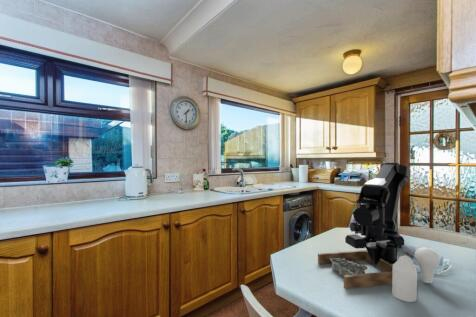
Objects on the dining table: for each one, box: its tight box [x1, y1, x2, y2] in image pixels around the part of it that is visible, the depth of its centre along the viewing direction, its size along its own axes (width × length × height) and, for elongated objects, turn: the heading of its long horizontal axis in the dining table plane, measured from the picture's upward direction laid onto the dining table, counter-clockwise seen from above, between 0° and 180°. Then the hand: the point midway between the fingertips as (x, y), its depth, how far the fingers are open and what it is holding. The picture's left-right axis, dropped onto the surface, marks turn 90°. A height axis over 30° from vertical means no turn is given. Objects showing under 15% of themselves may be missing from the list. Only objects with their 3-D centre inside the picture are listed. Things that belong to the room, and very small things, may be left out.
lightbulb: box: [414, 246, 441, 284], centre depth 72 cm, size 6×6×11 cm
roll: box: [391, 254, 418, 303], centre depth 65 cm, size 6×12×6 cm
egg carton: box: [330, 258, 368, 276], centre depth 79 cm, size 11×8×4 cm
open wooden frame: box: [317, 249, 393, 290], centre depth 79 cm, size 20×17×4 cm
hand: (374, 264), depth 80 cm, fingers closed
